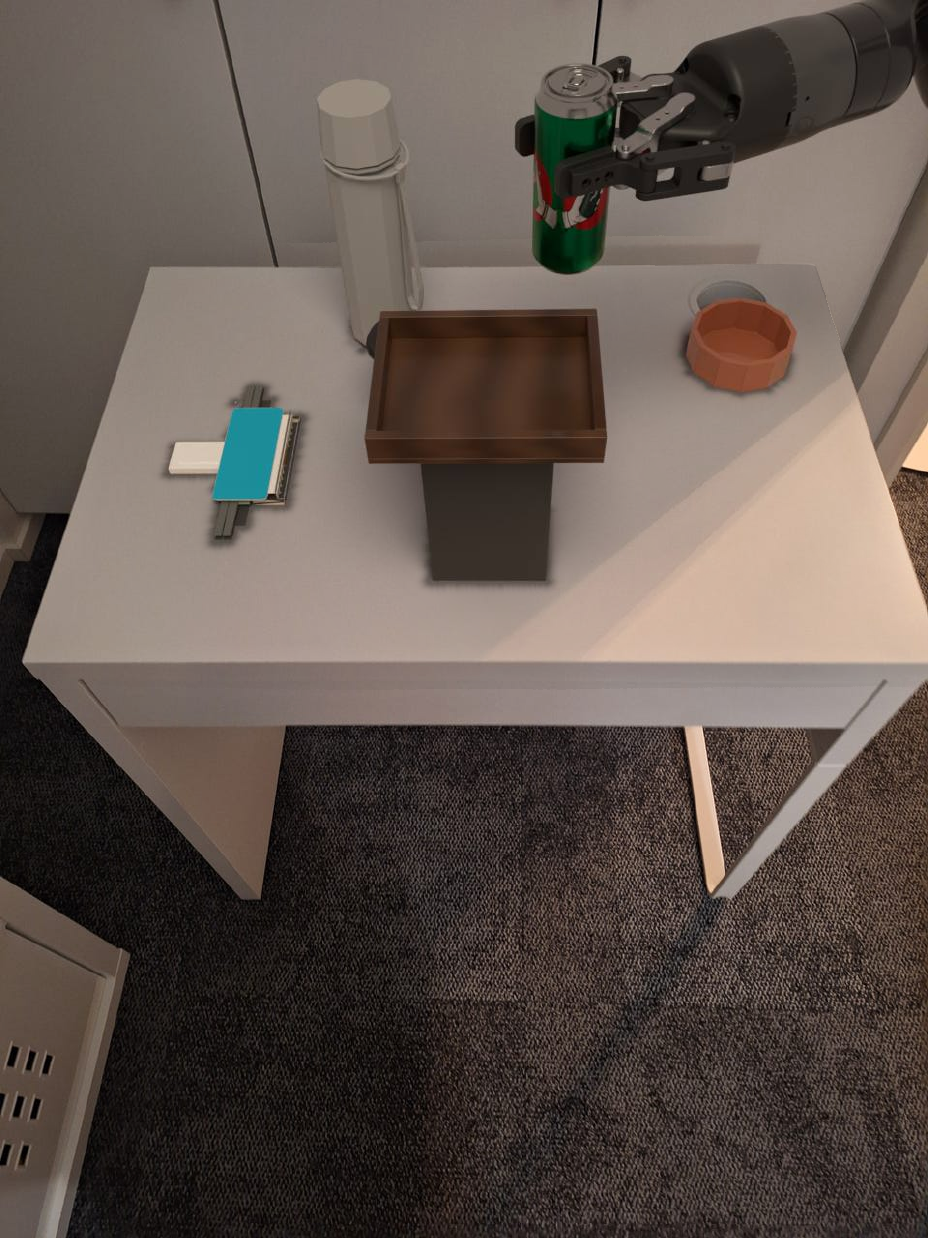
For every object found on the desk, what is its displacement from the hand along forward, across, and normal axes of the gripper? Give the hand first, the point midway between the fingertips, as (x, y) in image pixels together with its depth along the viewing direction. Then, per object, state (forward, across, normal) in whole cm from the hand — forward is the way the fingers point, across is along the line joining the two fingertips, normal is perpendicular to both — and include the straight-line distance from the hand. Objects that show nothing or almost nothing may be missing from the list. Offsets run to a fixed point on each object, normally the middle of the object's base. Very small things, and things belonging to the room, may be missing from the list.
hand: (538, 159), depth 58 cm
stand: (+5, +2, +34) cm, 34 cm away
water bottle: (+2, -29, +34) cm, 44 cm away
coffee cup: (+4, -17, +34) cm, 38 cm away
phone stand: (+23, -18, +33) cm, 45 cm away
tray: (+5, +2, +16) cm, 17 cm away
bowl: (-29, -9, +34) cm, 45 cm away
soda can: (-3, 0, +8) cm, 9 cm away
